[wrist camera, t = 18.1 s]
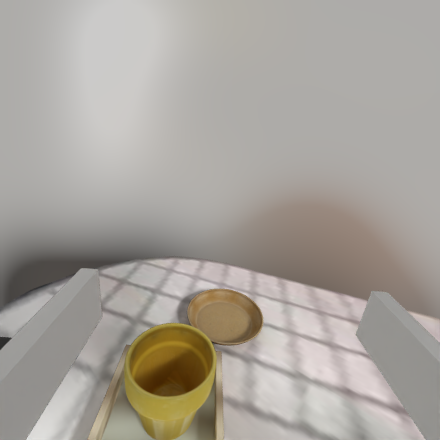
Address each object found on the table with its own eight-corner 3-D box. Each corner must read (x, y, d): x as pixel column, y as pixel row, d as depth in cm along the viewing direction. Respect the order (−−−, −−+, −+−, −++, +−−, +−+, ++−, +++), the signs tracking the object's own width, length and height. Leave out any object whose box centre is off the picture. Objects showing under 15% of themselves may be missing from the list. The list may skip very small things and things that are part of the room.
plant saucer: (274, 324, 49) (277, 314, 48) (229, 372, 38) (231, 359, 38) (220, 289, 58) (221, 280, 57) (170, 320, 47) (171, 309, 46)
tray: (221, 493, 25) (224, 476, 24) (77, 487, 25) (74, 470, 23) (219, 365, 39) (221, 351, 38) (126, 359, 38) (126, 344, 37)
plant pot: (181, 360, 38) (185, 310, 35) (224, 419, 31) (235, 364, 28) (113, 401, 32) (110, 345, 28) (149, 488, 25) (150, 426, 21)
